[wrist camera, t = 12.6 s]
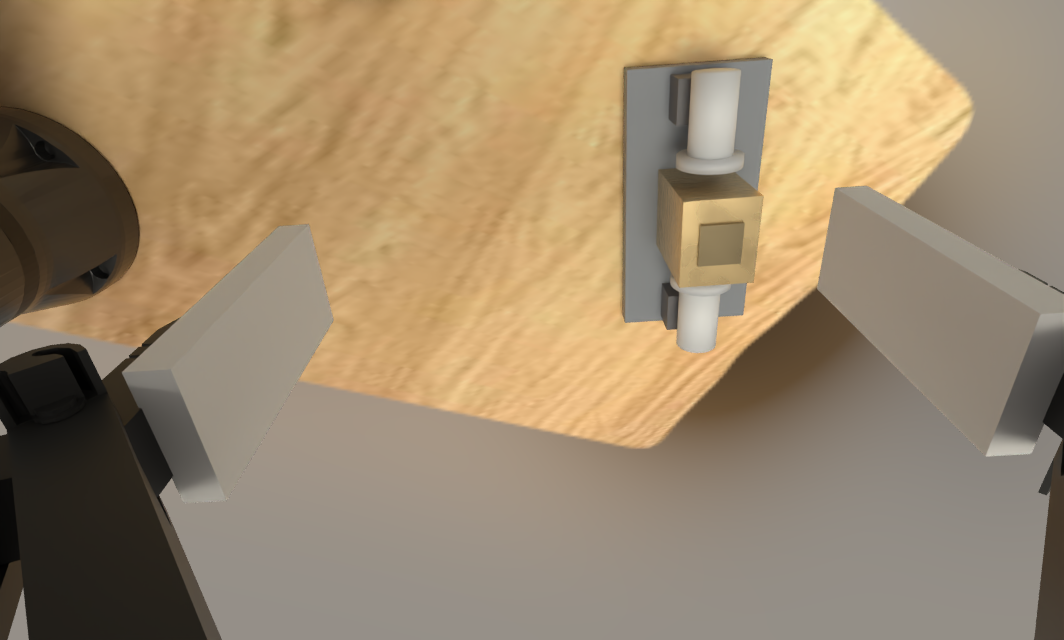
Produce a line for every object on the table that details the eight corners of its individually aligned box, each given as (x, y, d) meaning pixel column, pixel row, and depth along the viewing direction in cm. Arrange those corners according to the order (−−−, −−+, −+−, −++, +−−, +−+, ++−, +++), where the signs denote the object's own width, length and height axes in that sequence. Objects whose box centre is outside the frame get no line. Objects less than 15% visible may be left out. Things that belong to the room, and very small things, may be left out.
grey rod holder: (622, 314, 52) (637, 361, 45) (624, 67, 42) (642, 81, 36) (737, 307, 52) (769, 353, 45) (764, 57, 42) (810, 68, 35)
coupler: (656, 244, 47) (680, 289, 40) (658, 169, 44) (684, 203, 37) (719, 240, 47) (755, 284, 40) (725, 164, 44) (765, 197, 37)
